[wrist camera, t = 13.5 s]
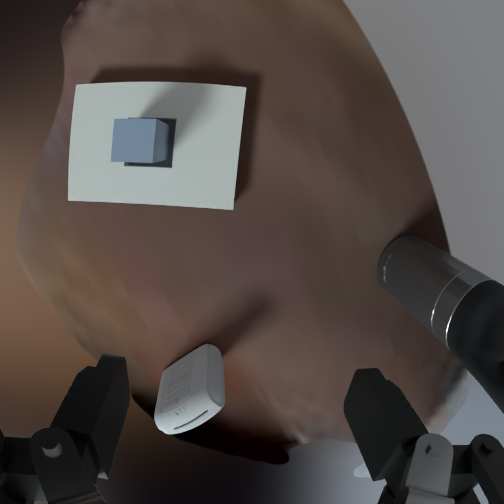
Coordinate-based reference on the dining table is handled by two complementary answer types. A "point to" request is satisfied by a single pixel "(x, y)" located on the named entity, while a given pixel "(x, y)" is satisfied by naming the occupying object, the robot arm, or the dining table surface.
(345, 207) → the dining table surface
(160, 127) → the peg
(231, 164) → the socket
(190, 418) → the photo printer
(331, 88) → the dining table surface
